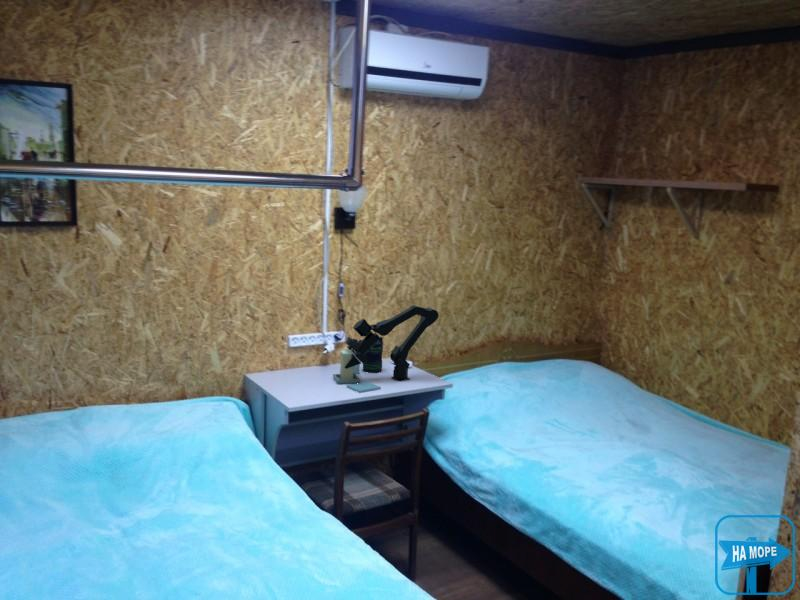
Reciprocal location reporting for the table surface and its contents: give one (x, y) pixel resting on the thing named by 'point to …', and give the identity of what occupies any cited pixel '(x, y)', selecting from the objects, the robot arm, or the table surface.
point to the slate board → (363, 387)
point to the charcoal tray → (348, 381)
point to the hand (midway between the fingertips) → (343, 366)
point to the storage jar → (374, 359)
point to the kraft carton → (345, 358)
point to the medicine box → (356, 369)
